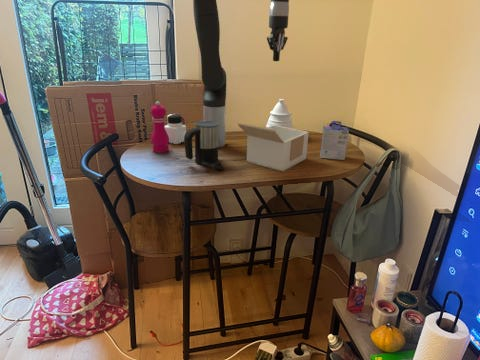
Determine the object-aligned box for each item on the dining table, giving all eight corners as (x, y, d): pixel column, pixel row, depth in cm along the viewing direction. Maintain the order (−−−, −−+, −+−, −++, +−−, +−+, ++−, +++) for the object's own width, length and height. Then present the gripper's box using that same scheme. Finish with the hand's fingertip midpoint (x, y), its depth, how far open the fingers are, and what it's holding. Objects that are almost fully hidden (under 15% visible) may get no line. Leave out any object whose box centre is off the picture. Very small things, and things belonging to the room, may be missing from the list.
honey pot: (293, 141, 163) (297, 101, 155) (266, 140, 163) (268, 100, 156) (290, 133, 174) (293, 96, 167) (264, 132, 174) (266, 95, 167)
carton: (283, 172, 126) (286, 142, 122) (245, 161, 135) (246, 133, 131) (307, 158, 140) (310, 132, 135) (271, 150, 149) (272, 124, 145)
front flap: (283, 142, 122) (283, 143, 122) (248, 134, 130) (248, 135, 130) (274, 130, 115) (273, 131, 115) (237, 122, 123) (237, 124, 123)
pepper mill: (154, 153, 141) (150, 103, 133) (149, 148, 147) (146, 100, 139) (171, 151, 144) (169, 102, 136) (166, 146, 150) (164, 99, 142)
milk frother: (205, 155, 141) (204, 118, 135) (238, 163, 133) (239, 125, 127) (181, 165, 130) (179, 126, 124) (215, 175, 122) (215, 133, 116)
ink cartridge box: (344, 156, 144) (349, 121, 139) (345, 160, 139) (350, 124, 134) (319, 154, 146) (324, 119, 140) (319, 158, 141) (324, 122, 135)
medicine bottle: (186, 141, 158) (186, 114, 153) (176, 144, 153) (174, 117, 148) (175, 138, 162) (173, 112, 157) (164, 141, 156) (162, 115, 151)
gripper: (279, 15, 146) (276, 59, 153) (261, 14, 136) (259, 61, 143) (295, 15, 142) (291, 61, 149) (278, 14, 132) (275, 62, 139)
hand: (276, 61), depth 146 cm, fingers closed
